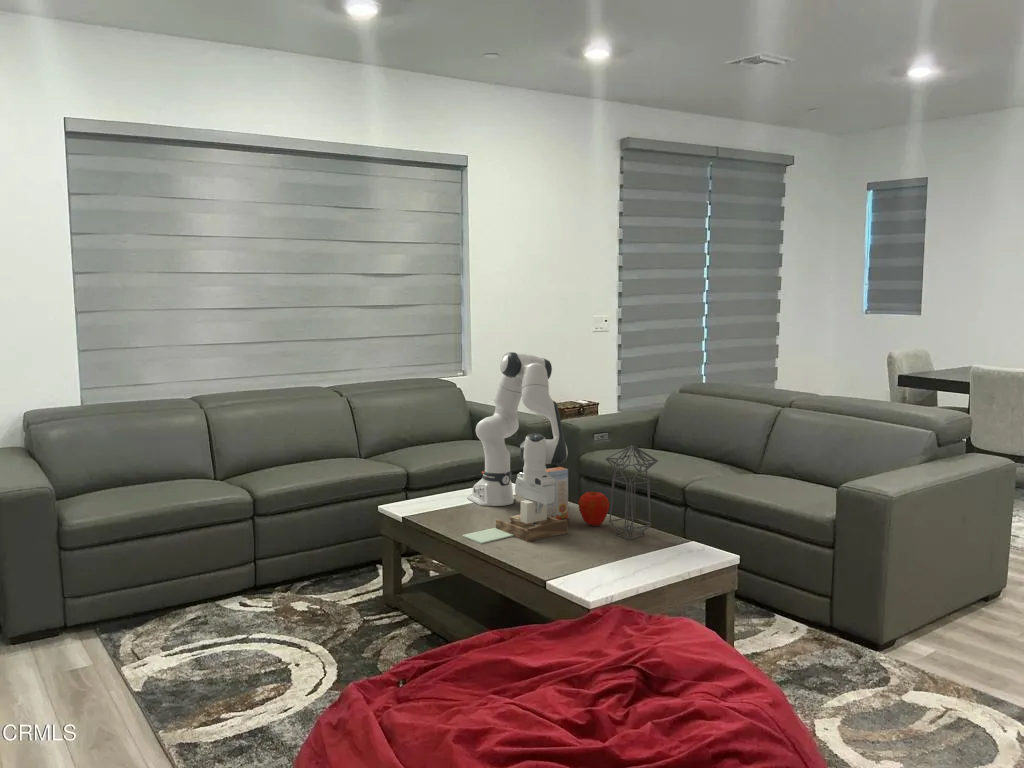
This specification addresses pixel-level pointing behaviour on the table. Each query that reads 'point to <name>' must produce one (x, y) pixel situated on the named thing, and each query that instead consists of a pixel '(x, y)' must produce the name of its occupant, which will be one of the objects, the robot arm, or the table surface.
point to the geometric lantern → (637, 450)
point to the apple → (593, 507)
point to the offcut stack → (516, 521)
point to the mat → (487, 535)
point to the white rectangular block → (532, 512)
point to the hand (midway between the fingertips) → (533, 511)
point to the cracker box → (559, 493)
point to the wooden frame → (535, 529)
